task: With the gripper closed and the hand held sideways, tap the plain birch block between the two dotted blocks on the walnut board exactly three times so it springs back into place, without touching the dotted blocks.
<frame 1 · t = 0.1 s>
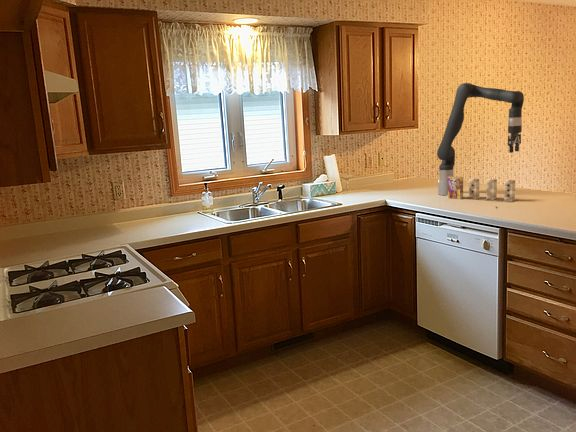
hand: (514, 152, 301), 29 cm above the counter, tool pointing down, fingers open, 8 cm apart
plain birch block: (491, 189, 302), point 8 cm above the counter, slide at 0.0 cm
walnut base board: (491, 201, 303), on the counter
candy box: (455, 200, 315), on the counter
dotted block right: (509, 200, 295), point 1 cm above the counter, touching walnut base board
dotted block left: (474, 197, 311), point 1 cm above the counter, touching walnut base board
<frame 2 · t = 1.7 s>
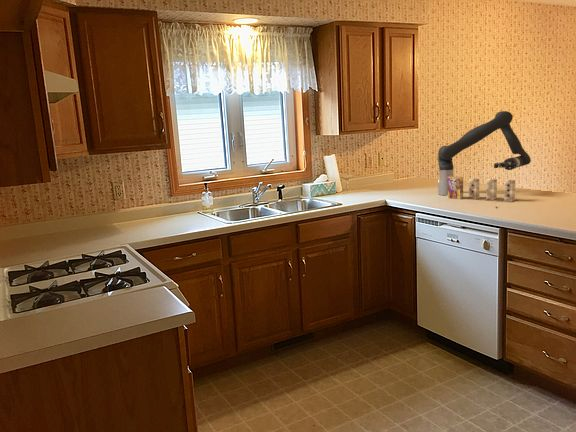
hand: (500, 166, 308), 20 cm above the counter, tool horizontal, fingers open, 6 cm apart
nothing on the counter moved.
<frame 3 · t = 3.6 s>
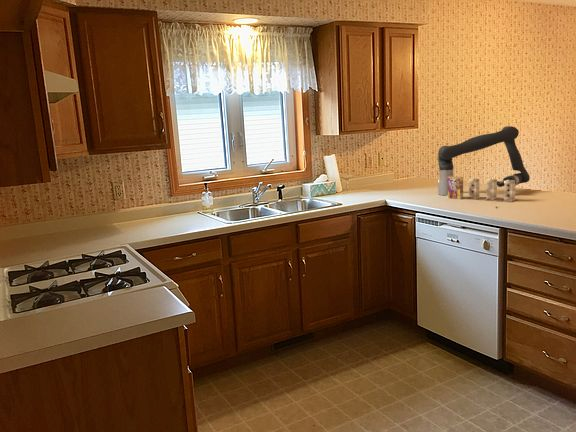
hand: (499, 185, 310), 9 cm above the counter, tool horizontal, fingers closed
nothing on the counter moved.
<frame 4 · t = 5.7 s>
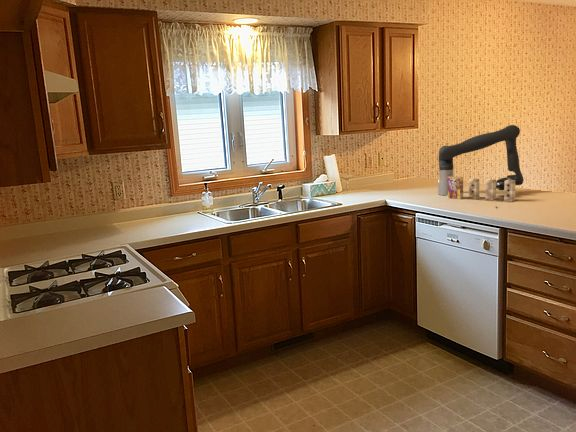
hand: (492, 187, 303), 9 cm above the counter, tool horizontal, fingers closed
plain birch block: (490, 189, 301), point 8 cm above the counter, slide at 1.1 cm, touching gripper
everything else where it was.
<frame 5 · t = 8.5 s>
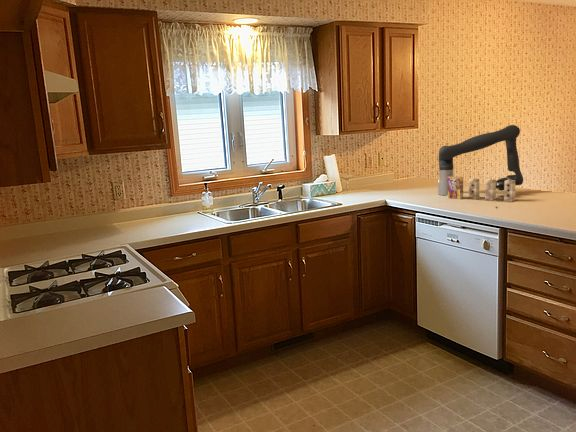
hand: (492, 187, 302), 9 cm above the counter, tool horizontal, fingers closed
plain birch block: (490, 189, 301), point 8 cm above the counter, slide at 1.6 cm, touching gripper
everything else where it was.
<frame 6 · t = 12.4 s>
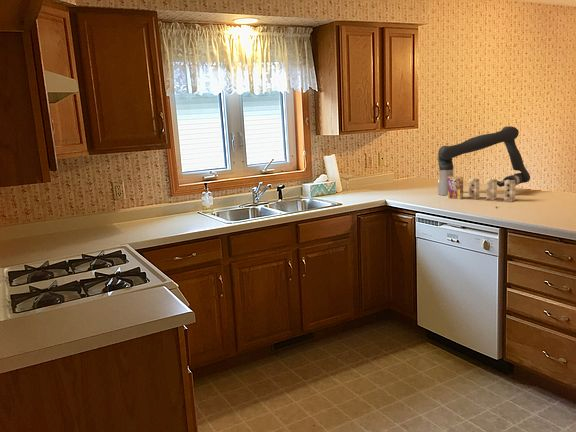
hand: (499, 185, 310), 9 cm above the counter, tool horizontal, fingers closed
plain birch block: (491, 189, 302), point 8 cm above the counter, slide at 0.0 cm
everything else where it was.
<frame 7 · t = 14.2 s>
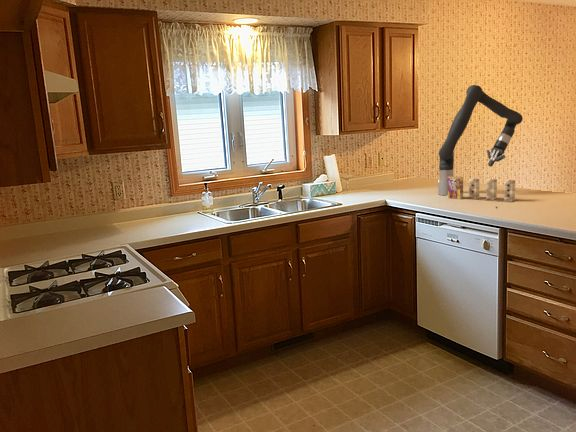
hand: (489, 165, 319), 20 cm above the counter, tool tilted 35°, fingers closed
nothing on the counter moved.
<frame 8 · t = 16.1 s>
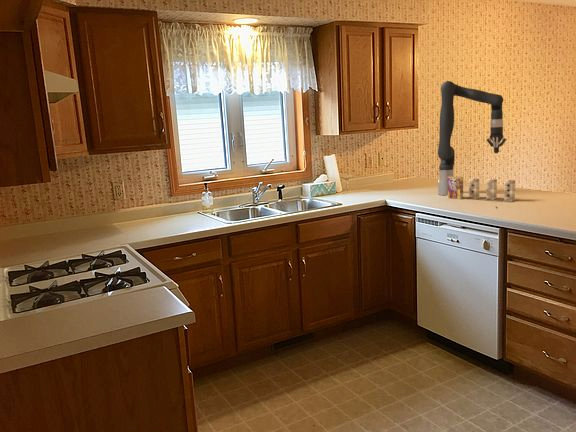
hand: (496, 153, 323), 27 cm above the counter, tool pointing down, fingers closed
nothing on the counter moved.
at the end: plain birch block slide at 0.0 cm; dotted block left moved 0.0 cm from its start; dotted block right moved 0.0 cm from its start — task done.
